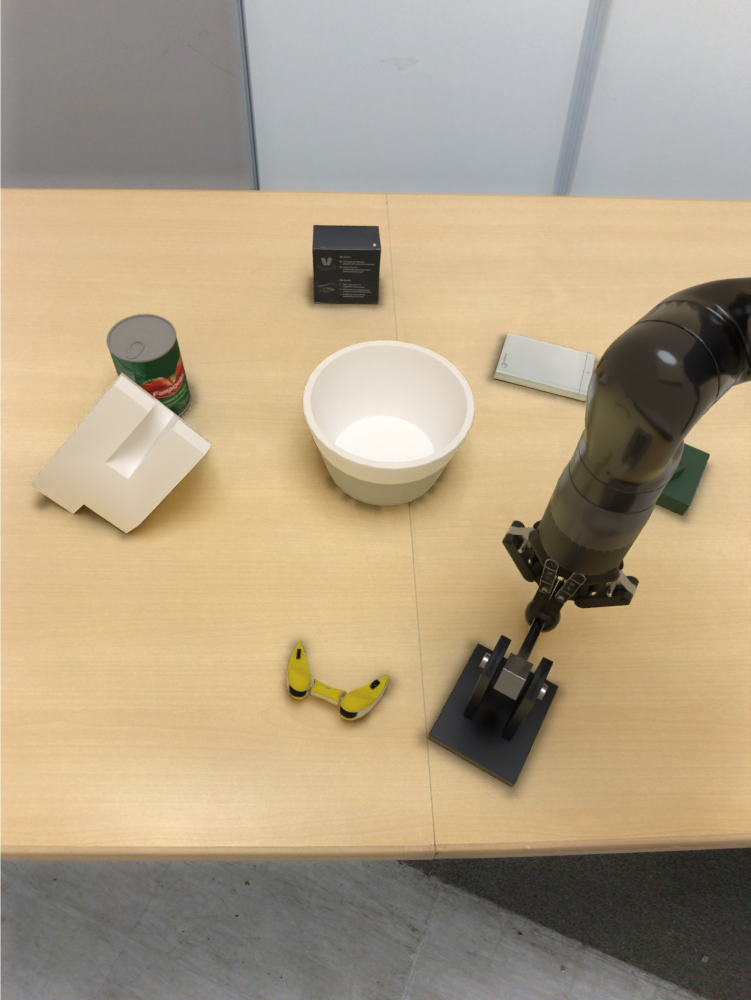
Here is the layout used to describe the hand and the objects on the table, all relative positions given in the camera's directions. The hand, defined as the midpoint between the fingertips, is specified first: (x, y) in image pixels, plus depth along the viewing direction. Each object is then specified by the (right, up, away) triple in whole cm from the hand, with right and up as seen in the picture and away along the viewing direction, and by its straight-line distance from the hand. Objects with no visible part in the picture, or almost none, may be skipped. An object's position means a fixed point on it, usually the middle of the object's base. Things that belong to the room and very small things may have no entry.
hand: (546, 605), depth 74 cm
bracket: (-5, -11, -1) cm, 12 cm away
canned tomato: (-45, +23, +21) cm, 54 cm away
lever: (-3, -5, -3) cm, 6 cm away
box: (-21, +41, +34) cm, 58 cm away
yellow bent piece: (-21, -8, 0) cm, 23 cm away
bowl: (-16, +15, +17) cm, 28 cm away
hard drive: (+6, +28, +27) cm, 40 cm away
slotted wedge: (-44, +12, +13) cm, 48 cm away
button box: (+17, +14, +18) cm, 28 cm away
